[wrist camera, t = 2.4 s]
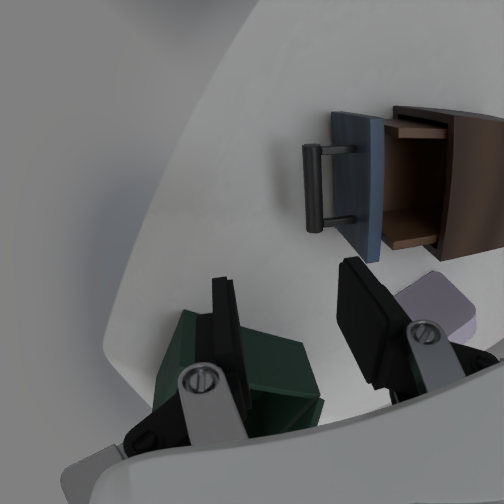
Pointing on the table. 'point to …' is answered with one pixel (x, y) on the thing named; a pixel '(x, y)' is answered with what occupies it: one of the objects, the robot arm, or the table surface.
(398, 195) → the drawer
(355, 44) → the table surface
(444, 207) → the cabinet
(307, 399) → the chest
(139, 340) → the table surface
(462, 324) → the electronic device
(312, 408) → the chest lid
